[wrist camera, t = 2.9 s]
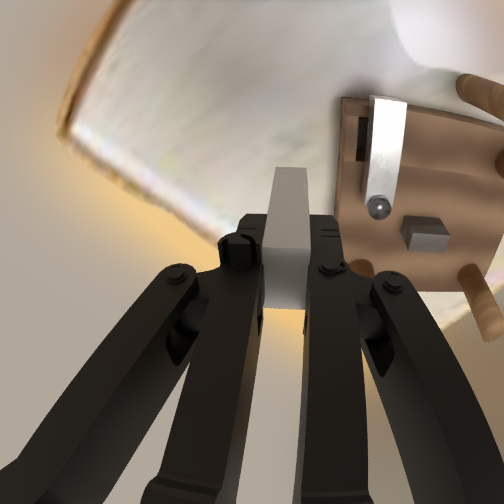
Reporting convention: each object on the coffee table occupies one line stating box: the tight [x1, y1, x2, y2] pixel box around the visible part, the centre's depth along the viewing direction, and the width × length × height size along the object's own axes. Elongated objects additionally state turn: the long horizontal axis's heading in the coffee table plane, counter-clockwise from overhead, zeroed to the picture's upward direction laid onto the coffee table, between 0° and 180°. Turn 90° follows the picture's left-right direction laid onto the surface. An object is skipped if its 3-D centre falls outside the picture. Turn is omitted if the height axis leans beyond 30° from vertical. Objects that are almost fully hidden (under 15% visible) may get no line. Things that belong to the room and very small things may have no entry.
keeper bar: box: [361, 95, 407, 220], centre depth 22 cm, size 10×2×3 cm, turn 3°
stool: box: [334, 97, 504, 342], centre depth 24 cm, size 20×20×12 cm
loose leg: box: [456, 74, 504, 121], centre depth 16 cm, size 3×3×12 cm
